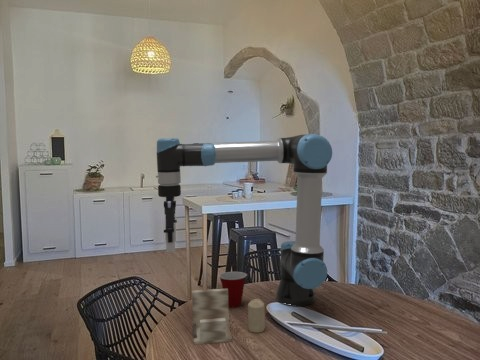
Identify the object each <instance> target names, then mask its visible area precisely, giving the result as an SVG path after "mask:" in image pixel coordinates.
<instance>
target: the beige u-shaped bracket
mask: <svg viewBox="0 0 480 360" xmlns="http://www.w3.org/2000/svg"><path fill="white" fill-rule="evenodd" d="M191 294H192V295H191V301H192V302H191V305H192V308H191V309H192V310H191V312H192V332H193V333H192V335H193V345H201V344H212V343H213V344H214V343H215V344H216V343H226V342H227V343H228V342H233V336H232V333H231V329H230V325H229V324H230V323H229V320H230V319H229V318H230V317H229V314H230V313H229V307H228V288H225V289H223V288H212V289H209V288H208V289H196V290H191Z"/></svg>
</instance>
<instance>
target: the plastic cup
mask: <svg viewBox="0 0 480 360" xmlns="http://www.w3.org/2000/svg"><path fill="white" fill-rule="evenodd" d="M247 276H248V275H247V273H245V272H242V271H225V272H221V273H220V274H218V277H219V279H220V282H221V287H222V288H221V289H225V288H228V308H238V307H240V306H241V304H242V300H243V299H242V298H243V296H244V295H243V294H244V289H245V283H246V279H247Z"/></svg>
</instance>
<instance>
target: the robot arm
mask: <svg viewBox="0 0 480 360" xmlns="http://www.w3.org/2000/svg"><path fill="white" fill-rule="evenodd" d="M332 157H333V148H332V146H331V144H330V141H328V139H327V138H326V137H324V136H323V135H319V134H318V133H308V134H298V135H294V136H288V137H278V138H277V140H262V141H261V140H259V141H234V142H226V141H225V142H205V143H199V142H195V143H194V142H193V143H181V142H180V138H177V137H176V138H174V137H172V138H159V139H158V140H157V141H156V166H157V170H156V171H157V174H156V175H155V178H157V184H158V186H157V192H158V197H161V198H165V201H163V209H164V215H165V229H164V230H163V234H165V248H166V253H175V252H176V247H175V246H176V245H175V244H176V242H177V241H176V239H177V237H176V223H178V221H177V219H176V217H175V214H176V206H177V201H176V200H175V198H177V197H181V195H182V193H181V192H182V186H181V184H180V183H182V182H181V181H182V179H181V167H210V166H214V165H216V164H228V163H253V162H257V163H258V162H277V163H279V164H291V165H293V173H294V174H295V175H296V178H297V184H296V185H297V186H296V187H297V188H296V210H295V211H296V218H295V240H292V241H291V240H290V241H284V242H282V243H281V244H280V281H279V283H278V287H277V290H276V295H275V296H276V298H275V299H276V300H277V302H279V303H281V304H282V303H286V304H291V305H296V306H295V307H304V306H309V305H312V304H314V302H315V301H316V294H315V291H314V289H316V288H319V287H320V286H322V285H323V284H324V282H325V281H326V280H327V277H328V267H327V265H326V263H325V261H324V257H325V256H324V252H325V251H324V248H323V246H321V243H320V242H321V220H322V218H321V217H322V214H321V213H322V196H323V195H322V193H323V189H322V188H323V178H324V177H325V176H326V175H327V174H328V173H327V172H328V164H329V163H330V162H331V160H332Z"/></svg>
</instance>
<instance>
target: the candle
mask: <svg viewBox="0 0 480 360" xmlns="http://www.w3.org/2000/svg"><path fill="white" fill-rule="evenodd" d="M247 303H248V304H247V319H248V320H247V327H248V328H247V329H248V331H249V332H251V333H256V334H257V333H263V332H264V331H265V326H266V325H265V324H266V323H265V322H266V321H265V316H266V313H265V312H266V311H265V307H266V306H265V302H263V301H262V300H261V299H260V298H254V299H251V300H250V301H249V302H247Z"/></svg>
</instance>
